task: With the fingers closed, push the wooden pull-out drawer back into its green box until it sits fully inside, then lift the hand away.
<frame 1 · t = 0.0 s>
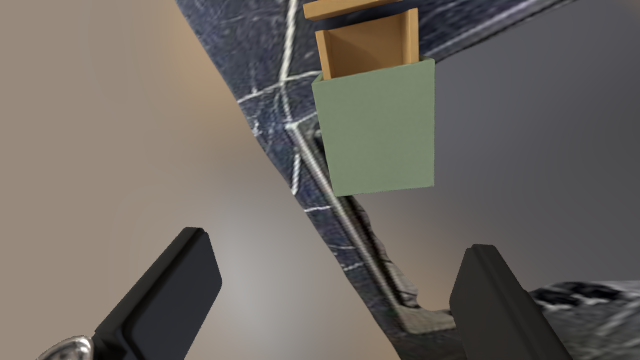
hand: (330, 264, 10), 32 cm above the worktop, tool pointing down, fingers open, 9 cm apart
green box: (372, 116, 38), on the worktop
wooden pull-out drawer: (365, 42, 30), point 5 cm above the worktop, slide at 6.0 cm
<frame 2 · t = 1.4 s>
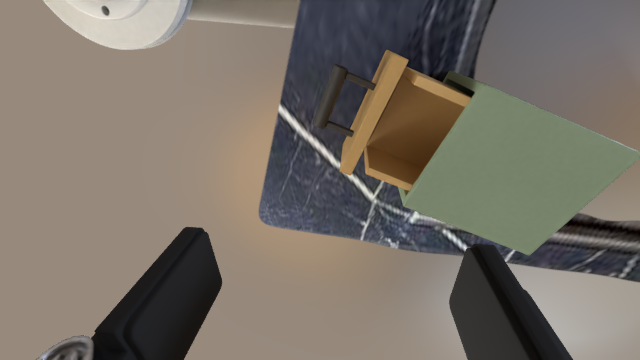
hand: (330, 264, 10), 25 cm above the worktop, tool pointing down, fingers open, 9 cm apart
green box: (472, 145, 32), on the worktop
wooden pull-out drawer: (404, 126, 27), point 5 cm above the worktop, slide at 6.0 cm
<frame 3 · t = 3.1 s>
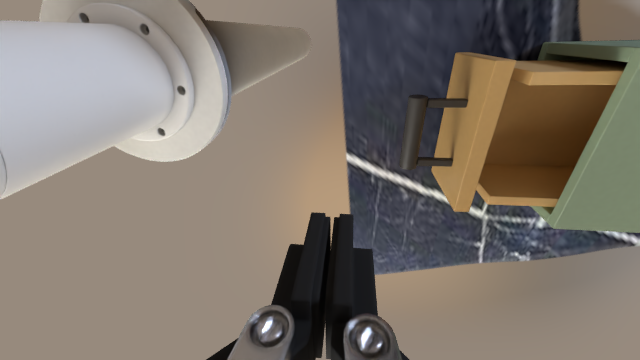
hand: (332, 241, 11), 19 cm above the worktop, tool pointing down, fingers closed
green box: (601, 116, 24), on the worktop
wooden pull-out drawer: (513, 131, 21), point 5 cm above the worktop, slide at 6.0 cm
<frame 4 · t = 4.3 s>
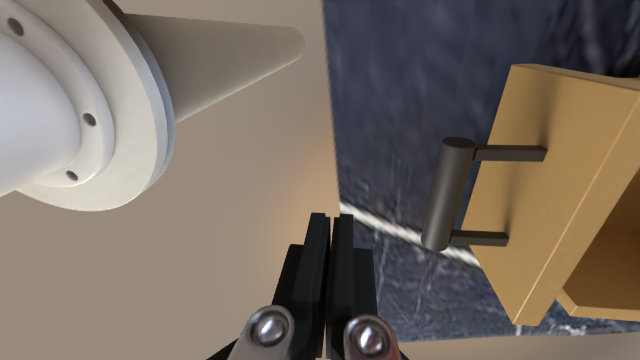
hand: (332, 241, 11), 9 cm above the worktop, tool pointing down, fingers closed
wooden pull-out drawer: (609, 193, 13), point 5 cm above the worktop, slide at 6.0 cm
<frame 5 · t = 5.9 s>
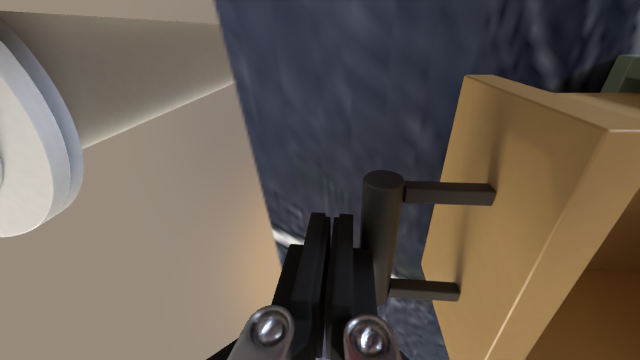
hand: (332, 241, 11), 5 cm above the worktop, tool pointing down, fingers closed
wooden pull-out drawer: (584, 239, 10), point 5 cm above the worktop, slide at 5.2 cm, touching gripper
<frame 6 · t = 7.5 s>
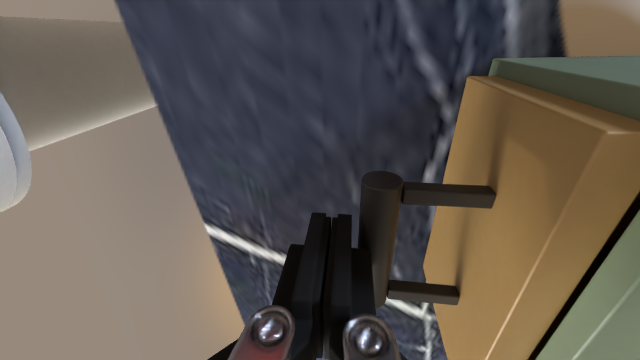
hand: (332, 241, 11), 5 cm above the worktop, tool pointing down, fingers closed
green box: (607, 189, 14), on the worktop
wooden pull-out drawer: (589, 244, 10), point 5 cm above the worktop, slide at 0.0 cm, touching gripper, green box
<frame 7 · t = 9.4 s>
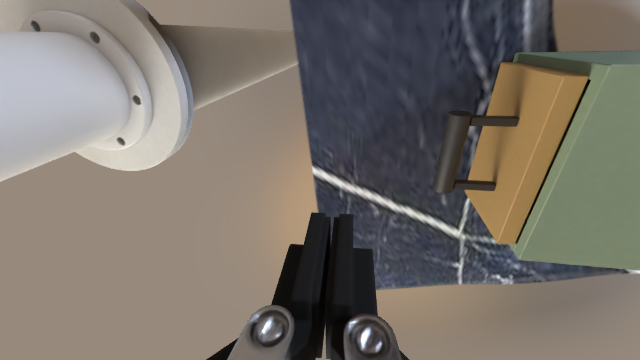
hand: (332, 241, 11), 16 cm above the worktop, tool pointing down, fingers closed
green box: (584, 133, 22), on the worktop
wooden pull-out drawer: (568, 153, 19), point 5 cm above the worktop, slide at 0.0 cm, touching green box
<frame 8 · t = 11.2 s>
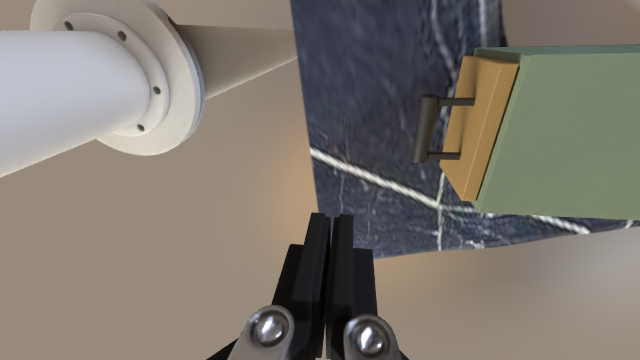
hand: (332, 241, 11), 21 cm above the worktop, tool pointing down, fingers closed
green box: (533, 114, 27), on the worktop
wooden pull-out drawer: (516, 127, 24), point 5 cm above the worktop, slide at 0.0 cm, touching green box
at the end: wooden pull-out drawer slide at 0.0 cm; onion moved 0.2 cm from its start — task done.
